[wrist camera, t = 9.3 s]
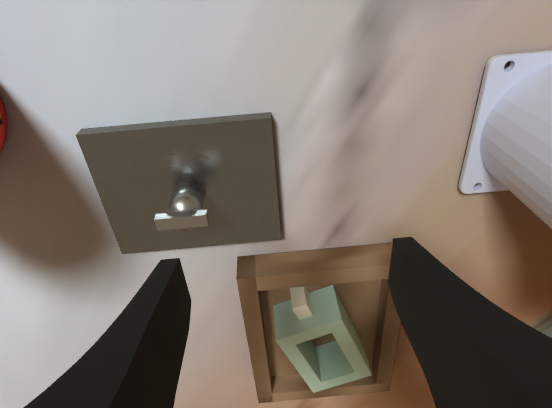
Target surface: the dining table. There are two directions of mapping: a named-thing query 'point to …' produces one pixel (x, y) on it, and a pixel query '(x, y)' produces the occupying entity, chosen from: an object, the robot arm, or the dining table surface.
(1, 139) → the canned food
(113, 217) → the grey hook plate
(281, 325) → the green hollow block
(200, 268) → the dining table surface
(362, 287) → the tray
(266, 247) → the dining table surface
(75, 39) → the dining table surface
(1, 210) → the dining table surface
